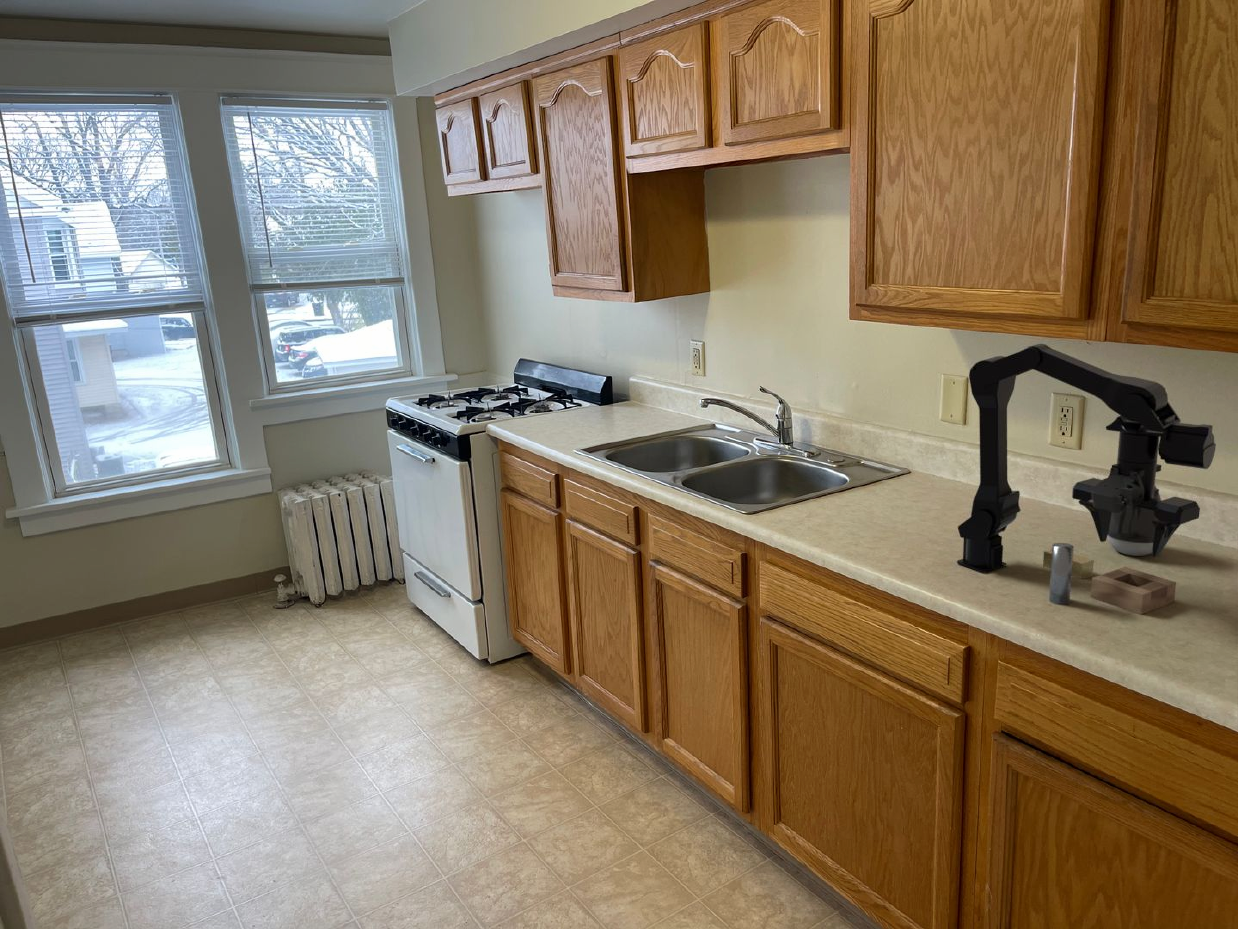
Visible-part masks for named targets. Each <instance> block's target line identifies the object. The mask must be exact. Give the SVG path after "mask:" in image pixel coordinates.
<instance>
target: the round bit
mask: <svg viewBox="0 0 1238 929" xmlns="http://www.w3.org/2000/svg"><path fill="white" fill-rule="evenodd" d="M1074 547H1075V546H1074V545H1073V544H1071V543H1067V542H1066V543H1065V542H1055V543H1053V544H1052V548H1051V549H1052V562H1051V569H1050V580H1049V593H1048V594H1049V597H1048V600H1049V602H1050V603H1052V604H1055V605H1060V606H1061V605H1062V606H1063V605H1069V604H1070V602H1071V590H1072V589H1071V588H1072V578H1073V576H1072V563H1073V554H1074V550H1075V549H1074Z"/></svg>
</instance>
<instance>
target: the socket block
mask: <svg viewBox="0 0 1238 929" xmlns="http://www.w3.org/2000/svg"><path fill="white" fill-rule="evenodd" d="M1176 587H1177V582H1176V581H1173V580H1170V579H1167V578H1164V577H1160V576H1157V575H1154V574H1151V573H1148V572H1147V573H1146V572H1144V571H1140V570H1139V569H1138V570H1137V569H1134V568H1131V567H1128V566H1124V567H1120V568H1118V569H1115V570H1112V571H1109V572H1105V573H1103V574H1100V575H1098V576H1094V577H1091V588H1090V597H1091V598H1092V599H1095V600H1098V601H1101V602H1103V603H1107V604H1110V605H1113V606H1115V607H1119V608H1121V609H1123V610H1127V611H1129V612H1133V613H1135V614H1138V615H1144V614H1146V613H1148V612H1152V611H1153V610H1157V609H1158V608H1162V607H1164V606H1167V605H1168V604H1172V603H1175V599H1176V598H1175V596H1176Z"/></svg>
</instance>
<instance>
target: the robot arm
mask: <svg viewBox="0 0 1238 929" xmlns="http://www.w3.org/2000/svg"><path fill="white" fill-rule="evenodd" d="M1032 370H1034V371H1036V372H1039V373H1041V374H1044V375H1046V376H1048V377H1051V378H1053V379H1054V380H1058V381H1060V382H1062V383H1064V384H1066V385H1069V386H1071V387H1074V388H1076V389H1079V390H1081V391H1083V392H1085V393H1087V394H1090V395H1091V396H1094V397H1096V398H1097V399H1099V400H1101V402H1102V403H1104V404H1105V406H1107V407H1108V408H1109V409H1110V410H1111V411H1113V412H1114V413H1116V414H1118V415H1119V416H1117V417H1116V418H1115V420H1113V422H1111V423H1109V424H1108V425H1106V426H1105V429H1106V431H1110V432H1111V431H1112V432H1119V435H1118V437H1119V438H1118V446H1117V458H1116V463H1114V464H1111V468H1110V470H1109V475H1108V477H1106V478H1103V479H1100V478H1095V477H1092V478H1088V479H1084V480H1081V481H1077V482H1076V483H1074V485H1073V487H1072V490H1071V498H1072V499H1075V500H1078V503H1079V505H1081V506H1083V507H1084V508H1086V509H1087V510H1088V512H1089V513H1090V515H1091V517H1092V520H1093V524H1094V526H1095V530H1096V532H1097V535H1098V538H1099V539H1098V540H1099V541H1100V542H1101V543H1104V542H1106V541H1107V540H1108V538H1107V536H1108V532H1109V527H1110V521H1111V515H1112V512H1113V513H1118V512H1121V511H1123V510H1124V508H1125V507H1126V506H1130V507H1135V506H1137V507H1141V508H1145V509H1149V510H1153V511H1154V515H1155V517H1156V518H1157V519H1156V520H1153V521H1152V523H1153V525H1154V527H1155V533H1154V540H1153V548H1152V553H1151V555H1152V557H1153V558H1157V557H1159V555H1160V554H1161V553H1162V552H1163V550H1164V549H1165V547H1166V545H1167V543H1169V540H1170V539H1171V537H1173V535H1174V534H1175V532H1176V531H1177V530H1178V528H1179V527H1180V526H1181V525H1182V524H1186V523H1189V522H1192V521H1195V520H1197V519H1200V511H1201V508H1200V506H1199V503H1197V501H1195V500H1192V499H1186V498H1182V497H1178V496H1172V497H1169V498H1166V499H1163V500H1162V499H1161V500H1158V499H1154V498H1153V497H1154V496H1157V495H1158V494H1160V489H1159V488H1157V487H1156V488H1157V489H1156V488H1154V487H1155V486H1156V476H1157V473H1160V472H1161V471H1162V464H1158V457H1160V460H1164V463H1165V464H1168V465H1174V466H1181V467H1187V468H1188V467H1189V468H1194V469H1195V468H1196V469H1202V470H1208V469H1209V468H1210V467H1211V464H1212V462H1213V459H1214V457H1215V454H1216V446H1217V444H1216V443H1215V436H1214V433H1213V425H1212V424H1205V423H1204V424H1193V423H1192V424H1191V423H1182V422H1181V419H1180V417H1179V415H1178V414H1177V412H1176V411H1175V410H1174V408H1173V407H1172V406H1171V404H1170V402H1169V401H1168V400H1169V399H1168V398H1169V397H1168V393H1167V391H1166V388H1165V387H1164V385H1162V384H1161V383H1159V382H1156V381H1154V380H1150V379H1144V378H1140V377H1136V376H1128V375H1122V374H1121V375H1120V374H1116V373H1112V372H1109V371H1107V370H1104V369H1102V368H1100V367H1097V366H1095V365H1092V364H1090V363H1087V362H1085V361H1083V360H1080V359H1078V358H1076V357H1074V356H1071V355H1068V354H1066V353H1063V352H1061V351H1058V350H1056V349H1054V348H1051V347H1050V346H1049V345H1047V344H1046V343H1036V344H1033V345H1029V346H1027V347H1024V349H1023V350H1019V351H1017V352H1015V353H1012V354H1009V355H1008V356H1003V355H998V356H993V357H989V358H985V359H982V360H979V361H977V362H975V363H974V364H973V366H972V367H970V370H969V374H968V379H969V380H968V381H969V384H970V386H969V387H970V392H971V395H972V397H973V399H974V401H975V403H976V405H977V407H978V410H979V411H978V412H979V413H978V414H979V415H978V417H979V423H978V424H979V425H978V426H979V427H978V428H979V486H978V488H977V490H976V493H975V495H974V497H973V501H972V507H971V513H970V517H969V518H967V519H965V521H963V522H962V523H961V524H960V525H957V530H958V534H959V537H960V538H962V539H963V546H962V548H963V549H962V558H961V559H958V560H956V564H958V565H961V566H964V567H967V568H969V569H971V570H975V571H978V572H981V573H988V572H990V571H994V570H997V569H1000V568H1003V567H1006V566H1007V562H1006V561H1005V562H1004V561H1003V557H1004V556H1003V552H1004V545H1003V544H1002V543H1003V536H1001V535H1000V533H1002V532H1005V531H1006V529H1007V527H1008V526H1009V525H1010V524H1012V523H1013V522H1014V521H1015V520H1016V518H1017V516H1018V513H1020V512H1021V508H1020V504H1019V502H1020V496H1021V493H1020V491H1019V490H1012V488H1011V486H1010V484H1009V482H1008V405H1009V402H1010V400H1011V397H1012V395H1013V392H1014V390H1015V384H1016V378H1017V376H1019V375H1022V374H1025V373H1027V372H1030V371H1032Z"/></svg>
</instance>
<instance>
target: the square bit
mask: <svg viewBox="0 0 1238 929" xmlns="http://www.w3.org/2000/svg"><path fill="white" fill-rule="evenodd" d="M1042 559H1043V561H1042V567H1045V568H1048V569H1050V570H1051V562H1052V548H1050V549H1047V550H1044V551H1043V558H1042ZM1094 562H1095V561H1094V559H1092V558H1088V557H1085V556H1082V555H1080V554H1079V555H1078V554H1076V553H1073V563H1072V578H1073V577H1074V578H1076V579H1080V580H1082V579H1087V578H1089V577H1092V576H1093V575H1094Z"/></svg>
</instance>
